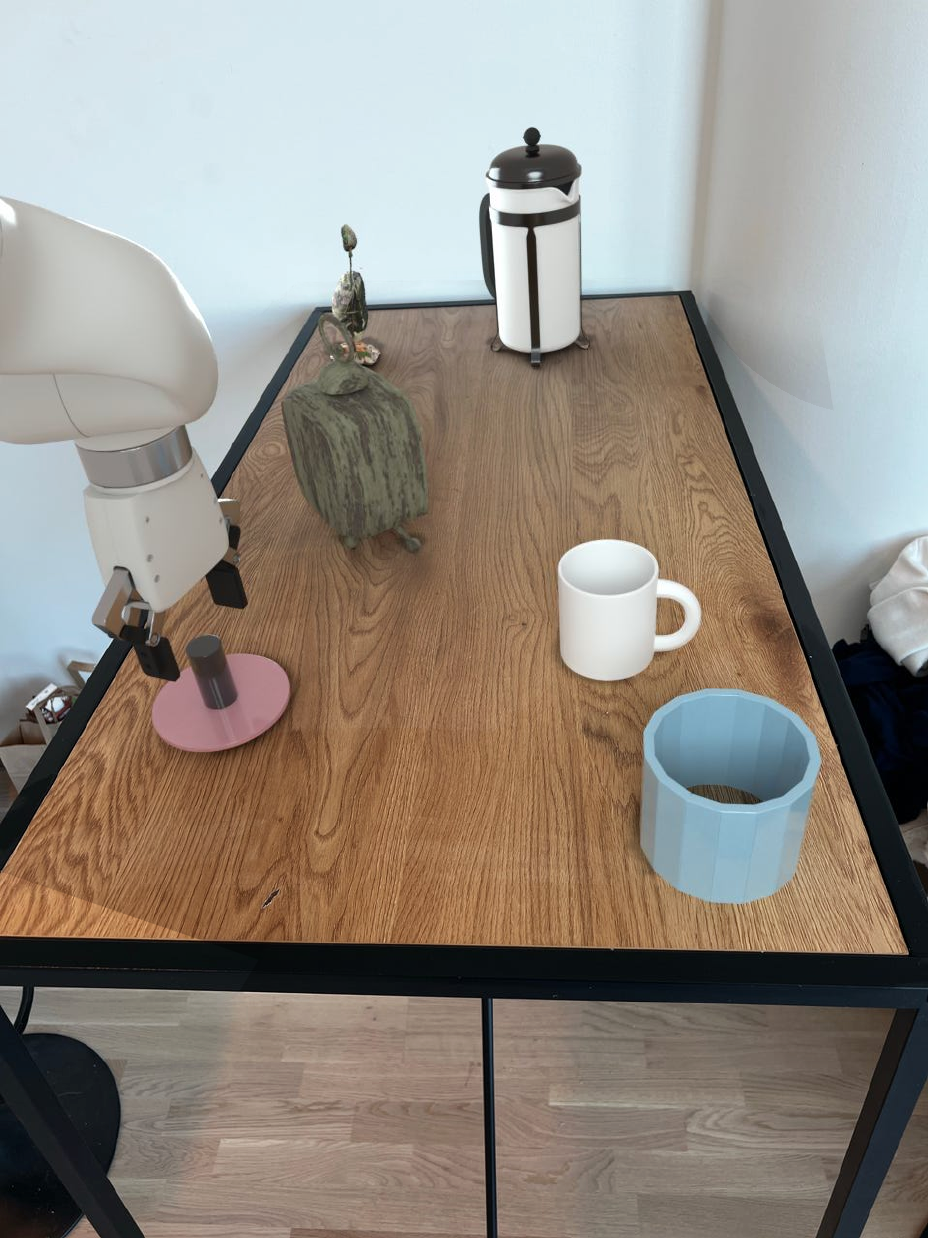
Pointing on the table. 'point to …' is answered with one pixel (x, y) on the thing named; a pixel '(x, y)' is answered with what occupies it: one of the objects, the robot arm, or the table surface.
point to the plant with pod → (353, 306)
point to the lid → (220, 698)
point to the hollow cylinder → (739, 758)
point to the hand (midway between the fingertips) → (198, 639)
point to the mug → (616, 609)
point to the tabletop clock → (356, 448)
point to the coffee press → (533, 246)
